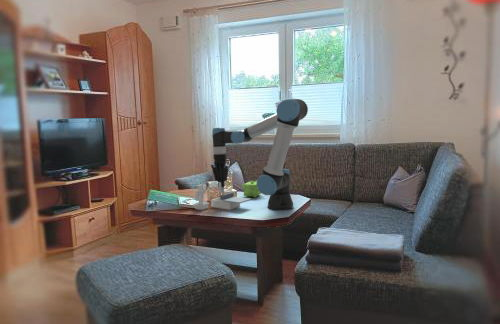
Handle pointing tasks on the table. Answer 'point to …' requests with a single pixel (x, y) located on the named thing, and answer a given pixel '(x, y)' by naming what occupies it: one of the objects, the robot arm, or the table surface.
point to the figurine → (200, 198)
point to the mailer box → (223, 204)
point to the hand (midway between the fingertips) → (221, 192)
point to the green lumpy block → (251, 189)
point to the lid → (232, 198)
